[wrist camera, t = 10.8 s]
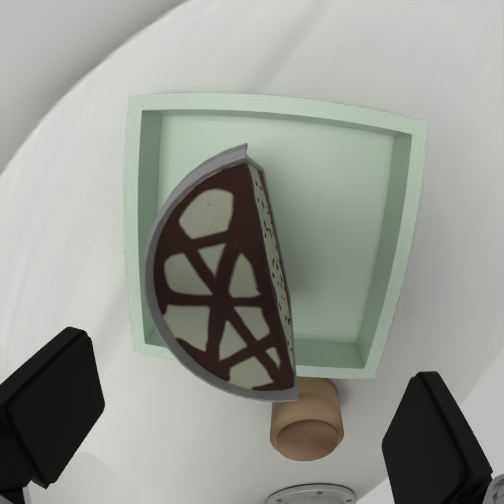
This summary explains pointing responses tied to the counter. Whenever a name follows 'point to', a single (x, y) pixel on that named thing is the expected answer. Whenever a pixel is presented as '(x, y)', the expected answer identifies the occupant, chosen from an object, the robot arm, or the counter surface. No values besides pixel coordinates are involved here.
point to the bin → (292, 209)
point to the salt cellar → (308, 421)
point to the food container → (223, 280)
